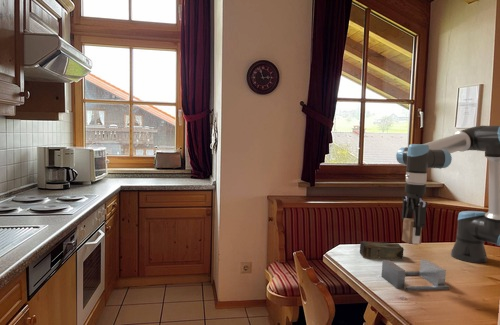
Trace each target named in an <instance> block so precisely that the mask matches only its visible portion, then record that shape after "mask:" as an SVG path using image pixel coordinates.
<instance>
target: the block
mask: <svg viewBox="0 0 500 325" xmlns="http://www.w3.org/2000/svg"><path fill="white" fill-rule="evenodd" d="M402 221H403V222H402V236H401V241H403V242H405V243H407V244H408V245H413V244H412V235H413V226H415V225H414V217H412V218H404V220H402ZM422 233H423V227H421V233H420V242H419V244H420V245H422V235H423V234H422ZM419 244H418V245H419Z"/></svg>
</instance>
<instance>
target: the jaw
mask: <svg viewBox="0 0 500 325" xmlns="http://www.w3.org/2000/svg"><path fill="white" fill-rule="evenodd" d="M419 271H420V275H418V276H419V277H421V278H422V279H424V280H425V281H427V282H429V283H430V284H432V286H441V285H446V276H447V274H446V273H447V269H445V268H444V267H442V266H440V265H438V264H436V263H434V262H432V261H430V260H429V259H428V258H427V259H420V263H419Z"/></svg>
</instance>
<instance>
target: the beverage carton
mask: <svg viewBox="0 0 500 325" xmlns="http://www.w3.org/2000/svg"><path fill="white" fill-rule="evenodd" d="M404 250H405V249H404V247H403V246H401V245H400V243H397V242H395V243H394V242H393V243H392V242H391V243H390V242H379V241H377V242H375V241H361V240H360V244H359V253H360V255H361V257H362V258H363V259H382V260H403V259H404Z"/></svg>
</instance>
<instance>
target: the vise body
mask: <svg viewBox="0 0 500 325" xmlns="http://www.w3.org/2000/svg"><path fill="white" fill-rule="evenodd" d="M381 265H382V266H381V278H383V279H384V280H385V281H386V282H387V283H389V284H390V285H392V287H394V288H395V289H397V290H399V289H403V290H404V289H405V290H406V291H407V292H413V291H415V292H416V291H444V290H445V291H447V290H450V287H451V286H449V285H448V284H447V285H446V284H445V285H441V286H434V285H415V286H414V285H412V286H411V285H409V286H408V285H406V283H405V282H406V276H419V275H420V270H418V271H417V270H416V271H415V270H413V271H409V270H408V271H407V270H405V269H403V267H401V266H399V265H397V264H396V263H395V262H393V261H392V260H391V259H382V264H381ZM405 285H406V286H405Z"/></svg>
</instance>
